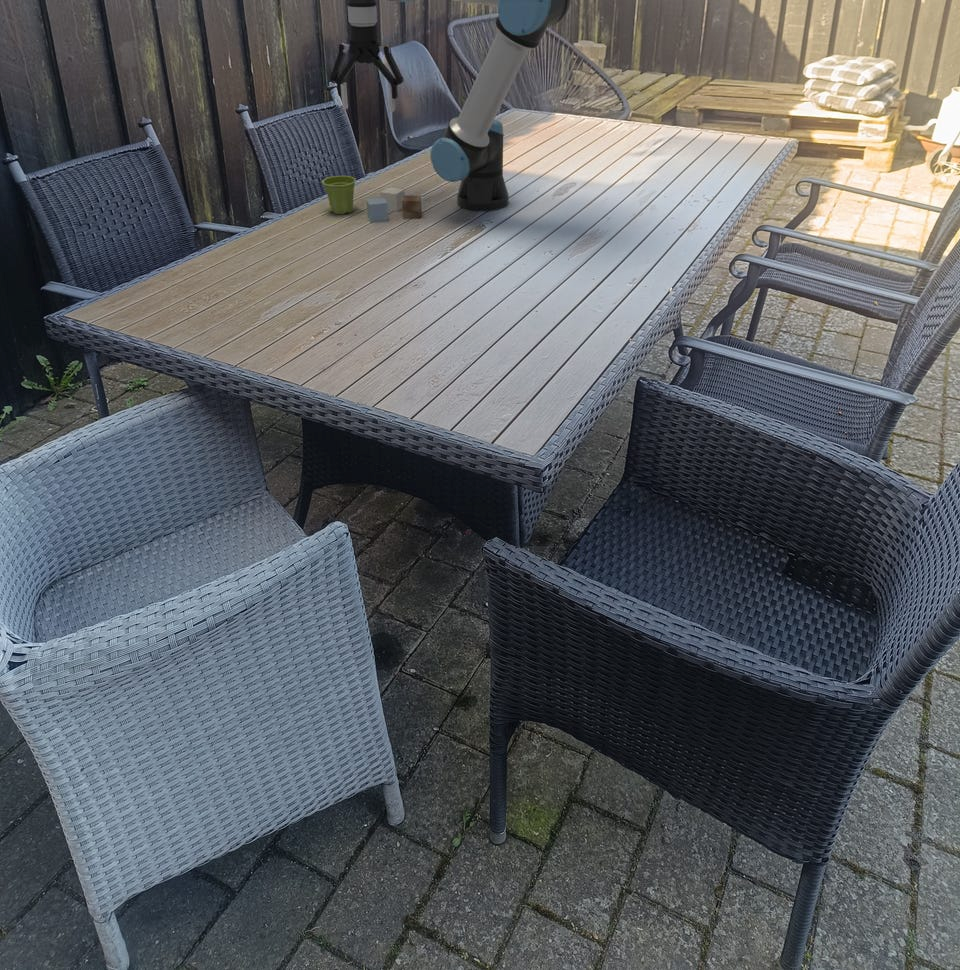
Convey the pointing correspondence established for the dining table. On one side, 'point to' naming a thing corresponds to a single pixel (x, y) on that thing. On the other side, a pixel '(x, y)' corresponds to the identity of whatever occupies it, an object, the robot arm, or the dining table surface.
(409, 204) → the walnut block
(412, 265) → the dining table surface
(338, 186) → the plant pot
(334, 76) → the robot arm
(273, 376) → the dining table surface
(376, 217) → the slate blue block
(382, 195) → the cream block
